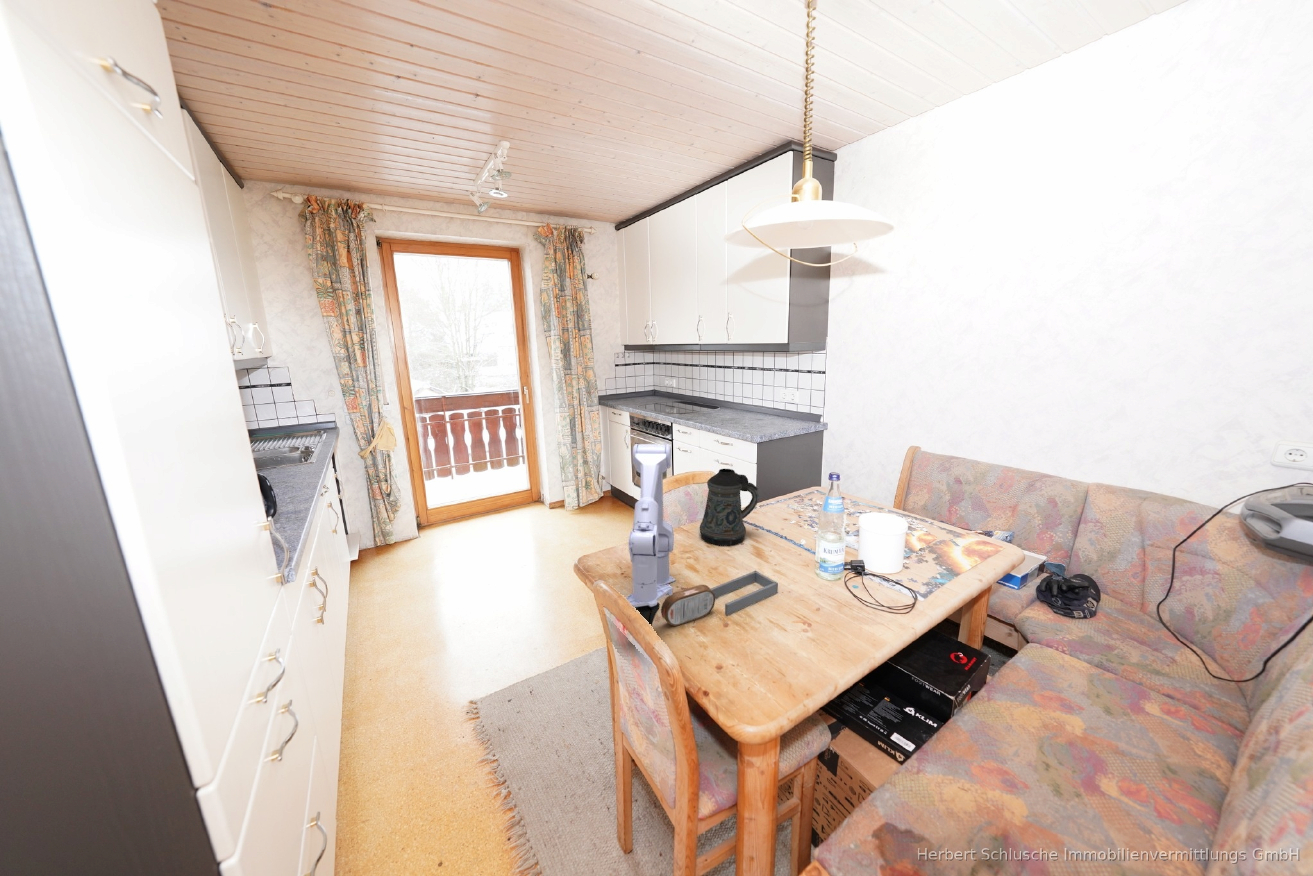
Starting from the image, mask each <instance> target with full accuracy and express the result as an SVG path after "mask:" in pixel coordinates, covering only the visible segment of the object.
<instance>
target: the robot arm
mask: <svg viewBox="0 0 1313 876" xmlns="http://www.w3.org/2000/svg"><path fill="white" fill-rule="evenodd" d="M632 463H633V466H634V467H635V471H636V472H638V473H639V474H640V499H638V500H637V501H636V502H635V504H634V513H633V524H632V531H630V533H629V534H628V535H629V536H628V552H629V557H630V562H631V568H632V573H631V574H632V593H631V594H629V595H628V596H627V597H625V598H626V599H627V600H628V601H629V603H631V605H632V606H633V607H635V608H636V610H638V611H639V612H640V614H641V615H642V616H643V617H644V618H645V619H646V620H647V621H648V622H649V624H651V626H652V627H653V623H654V619H655V617H656V615H657V613H658V611H659V610H660V608H661V607H660V605H661V604H660V602H658V601H659V600H661V599H662V598H663V597H666V596H671V595H673V593H674V592H673V589H674V588H673V586H671V585H670V584H671V583H673V582H676V578H674V577H673V576H672V575H671V574H670V553H672V552H673V551H674V545H675V534H674V527H673V524H671V523H670V522H668V521H666V520H665V519H664V488H663V487H664V485H663V484H664V483H663V480H664V479H663V476H664V473H665V472H667V470H668V469H670V468H671V467H672V446H671V445H670V444H669V443H666V444H663V443H662V444H661V443H660V444H658V443H657V444H655V443H654V444H653V443H647V444H646V443H643V444H642V443H635V444H634V446H633V448H632Z"/></svg>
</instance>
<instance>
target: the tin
mask: <svg viewBox="0 0 1313 876" xmlns="http://www.w3.org/2000/svg"><path fill="white" fill-rule="evenodd" d="M715 603H716V598H715V594H714V593H713V591H712V590H711V588H710V587H709V585H706V584H698V585H693V586H691V587H687V588H684V589H682V590H678V591H674V592H673V595H671V596H669V595H667V597H666V598H665V599H664V601H663V603H662V605H661V607H660V608H661V609H660V614H661V615H660V616H662V618H663V619H664V620H665V621H666V622H667V624H668V625H671V626H672V627H673V626H674V627H675V626H682V625H684V624H686V623H690V622H693V621H696V620H698V619H699V620H700V619H702V618H704V617H706V616H708V614H710V613H711V612H712V611H713V608H714V607H715Z"/></svg>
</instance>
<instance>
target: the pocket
mask: <svg viewBox="0 0 1313 876" xmlns="http://www.w3.org/2000/svg"><path fill="white" fill-rule="evenodd" d="M753 583H756V584H759V585H760V586H762V587H761V588H758V589H756V590H754V591H752V592H748V593H747V594H744V595H743V596H740V597H737V598H735V599H734V600H733V599H732V600H730V601H729V602H727V603H724V615H725V616H730V615H732V614H734V613H735V612H738V611H741V610H742V609H746V608H747V607H749V606H752V605H753V604H757V603H758V602H761V601H763V600H765V599H767V598H769V597H771V596H774V595H776V594H778V591H779V583H778V582H777V581H775V580H773V579H771V578H769V577H768V576H766V575H764V574H763V573H761V572H759V571H757V570H754V571H752V572H749V573H746V574H744V575H742V576H739V577H736V578H733V579H731V580H729V581H726V582H723V583H720V584H719V585H716V586H714V587H711V588H710V589H711V590H712V591H713V593H714V594H715V599H718V598H720V597H722V596H725V595H727V594H729V593H732V592H734V591H737V590H739V589H741V588H743V587H744V588H745V587H747V586H749V585H751V584H753Z"/></svg>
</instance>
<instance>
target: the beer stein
mask: <svg viewBox="0 0 1313 876" xmlns="http://www.w3.org/2000/svg"><path fill="white" fill-rule="evenodd" d="M706 485H707V488H708V490H707V491H708V492H707V496H706V497H707V499H706V503H705V508H704V509H705V510H704V514H703V518H702V520H701V523H700V524H699V532H700V533H699V534H700V538H701V540H702V541H703V542H705V543H707V544H709V545H713V546H716V547H732V546H738V545H740V544H742V543H743V542H744V540H745V536H746V532H747V529H746V528H747V527H746V526H745V523H744V519H745V518H746V517H747V516H749V515H750V513H752V511H754V510H755V509H756V506H757V504H758V501H759V497H760V495H759V490H758V489H759V488H758V487H757V485H755V484H754V483H752V482H749V479H748V477H747V475H745V474H738V473H737V472H736V471H735V470H734V469H732V468H721V469H719V470H718V472H717V473H715V474H714V475H713V476H711V477H710V478H709V479H708V480H707V481H706ZM741 492H749V493H750V494H751V500H750V502H748V505H746V507H744V508H743V509H742V499H741V498H742V497H741Z"/></svg>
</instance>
